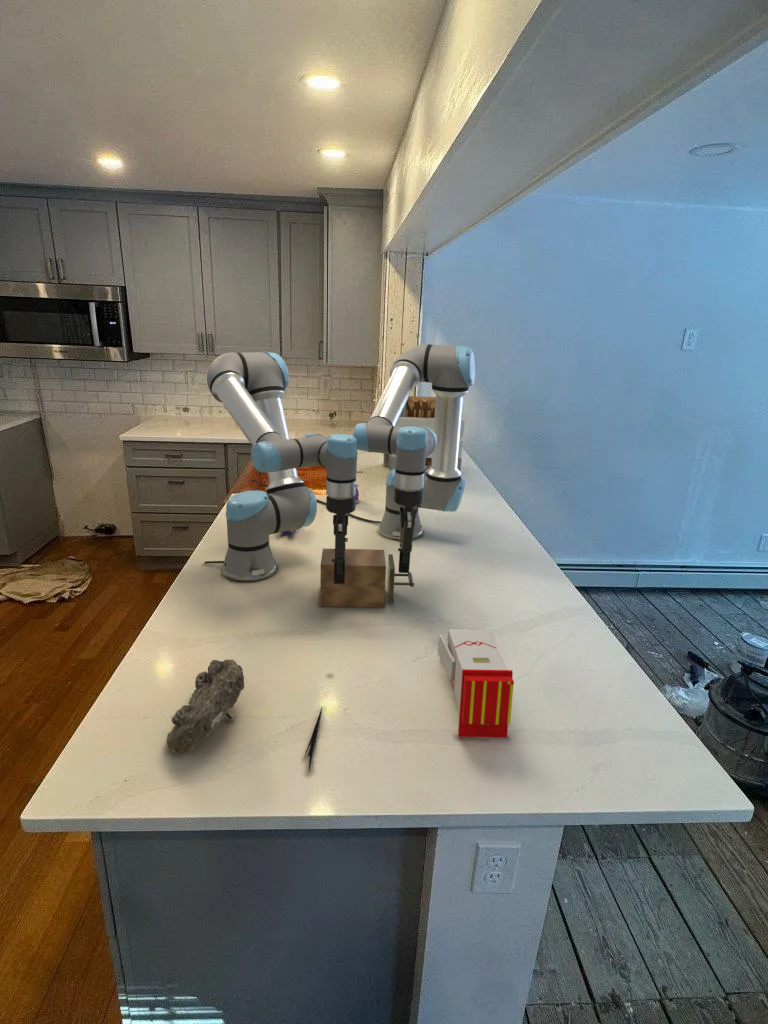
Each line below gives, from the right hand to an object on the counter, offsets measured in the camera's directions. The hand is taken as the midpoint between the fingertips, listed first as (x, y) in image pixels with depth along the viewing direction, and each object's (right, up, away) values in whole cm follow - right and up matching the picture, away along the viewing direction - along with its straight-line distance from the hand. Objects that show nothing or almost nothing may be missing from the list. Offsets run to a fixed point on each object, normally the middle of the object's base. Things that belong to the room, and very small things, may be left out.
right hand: (403, 571), depth 153 cm
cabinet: (-14, -7, +2) cm, 16 cm away
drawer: (-8, -6, +2) cm, 10 cm away
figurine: (-20, +20, +76) cm, 81 cm away
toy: (+13, -22, -34) cm, 42 cm away
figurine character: (-39, +9, +45) cm, 60 cm away
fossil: (-38, -23, -45) cm, 63 cm away
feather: (-18, -24, -44) cm, 53 cm away
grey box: (+12, +35, +122) cm, 128 cm away
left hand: (-17, -1, 0) cm, 17 cm away
